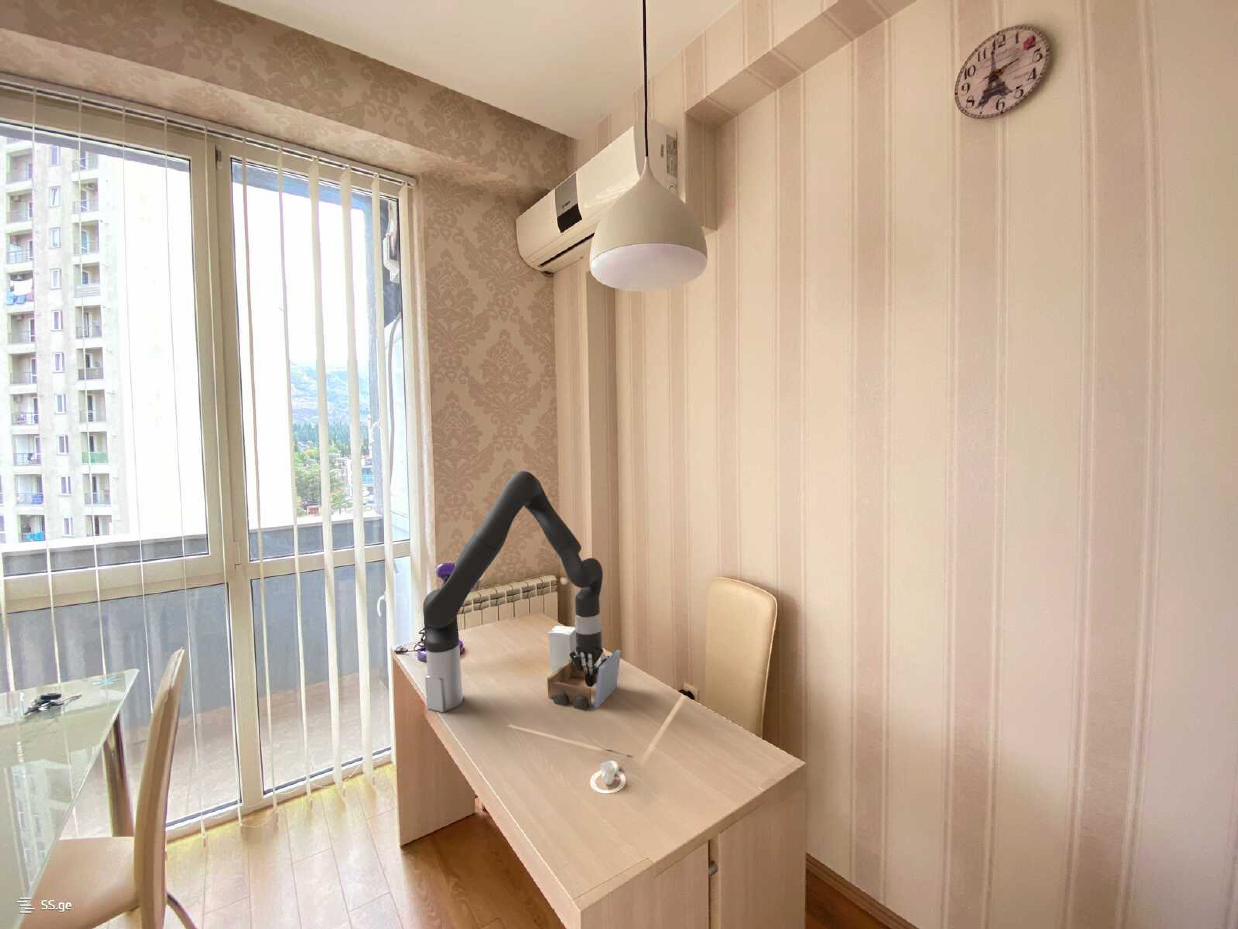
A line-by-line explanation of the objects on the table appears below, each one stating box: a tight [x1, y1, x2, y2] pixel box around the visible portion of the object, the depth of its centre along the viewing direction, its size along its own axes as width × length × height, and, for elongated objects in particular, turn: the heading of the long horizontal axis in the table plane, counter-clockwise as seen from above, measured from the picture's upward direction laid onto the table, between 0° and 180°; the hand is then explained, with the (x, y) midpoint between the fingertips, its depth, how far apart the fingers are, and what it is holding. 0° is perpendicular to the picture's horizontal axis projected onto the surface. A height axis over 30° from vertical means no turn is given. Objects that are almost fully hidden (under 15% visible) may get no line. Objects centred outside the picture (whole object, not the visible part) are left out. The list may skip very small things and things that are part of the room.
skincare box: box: [547, 625, 577, 675], centre depth 163 cm, size 8×6×15 cm
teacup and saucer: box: [589, 760, 627, 795], centre depth 113 cm, size 9×8×4 cm
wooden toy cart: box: [546, 659, 598, 711], centre depth 150 cm, size 16×14×7 cm
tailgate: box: [593, 649, 622, 709], centre depth 146 cm, size 12×1×12 cm, turn 155°
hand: (590, 685), depth 149 cm, fingers closed
